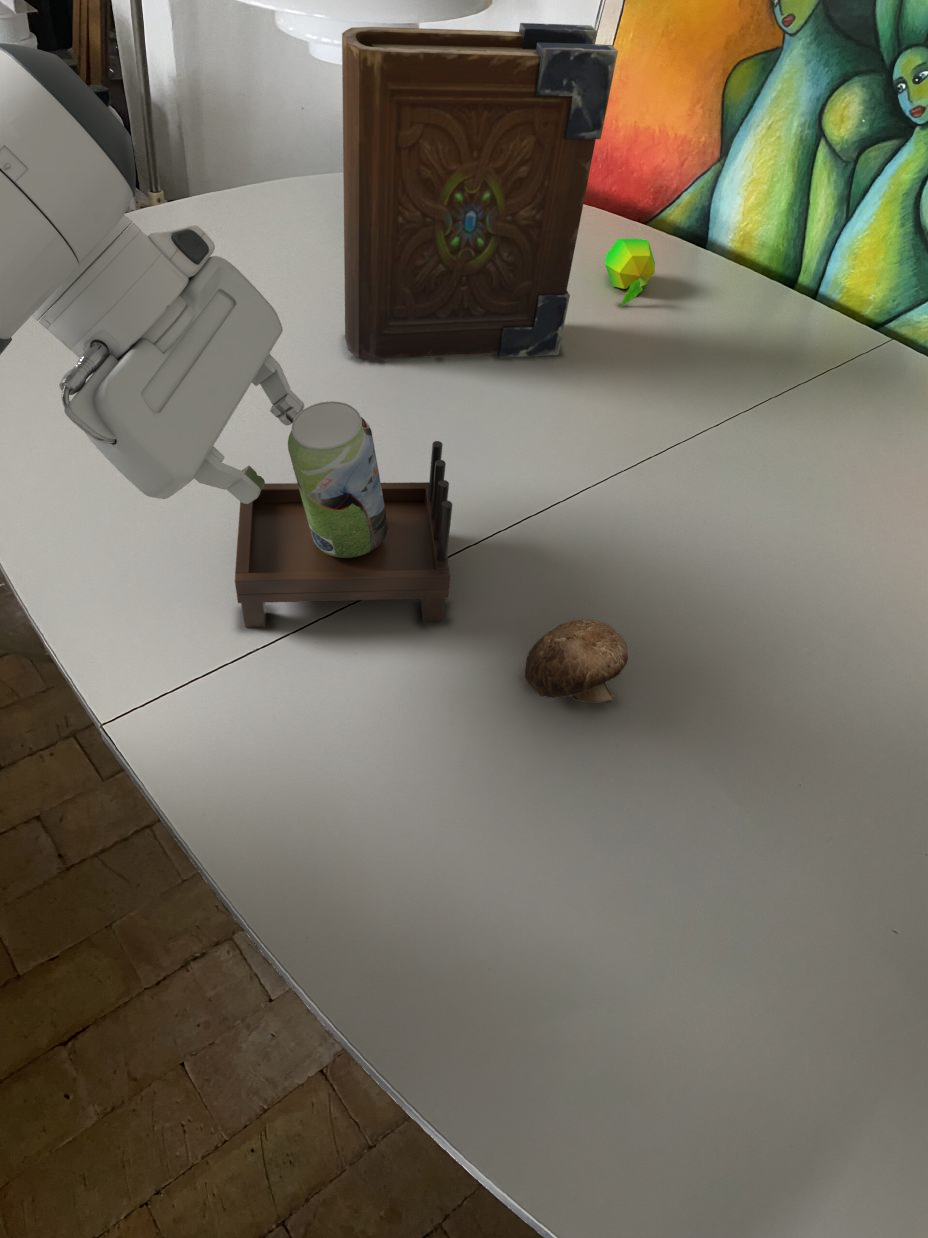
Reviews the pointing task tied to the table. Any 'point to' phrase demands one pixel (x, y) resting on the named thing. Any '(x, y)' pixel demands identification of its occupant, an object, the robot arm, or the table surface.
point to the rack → (299, 571)
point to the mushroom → (577, 661)
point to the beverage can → (338, 479)
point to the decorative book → (466, 184)
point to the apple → (630, 266)
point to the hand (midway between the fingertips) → (277, 453)
